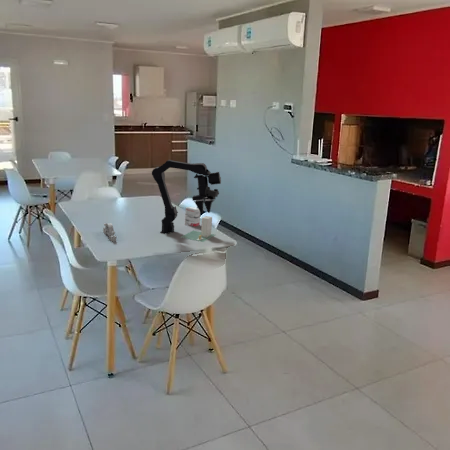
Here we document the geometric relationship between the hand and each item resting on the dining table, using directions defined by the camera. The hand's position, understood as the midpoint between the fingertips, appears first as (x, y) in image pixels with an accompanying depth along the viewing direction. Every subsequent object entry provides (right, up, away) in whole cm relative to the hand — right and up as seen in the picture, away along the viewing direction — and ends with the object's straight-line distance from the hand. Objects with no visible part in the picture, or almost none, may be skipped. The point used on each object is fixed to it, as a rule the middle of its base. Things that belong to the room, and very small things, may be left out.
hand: (205, 212), depth 266 cm
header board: (-5, -14, +4) cm, 16 cm away
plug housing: (0, -13, +6) cm, 14 cm away
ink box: (-10, -8, +28) cm, 30 cm away
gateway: (-54, -14, -5) cm, 56 cm away
